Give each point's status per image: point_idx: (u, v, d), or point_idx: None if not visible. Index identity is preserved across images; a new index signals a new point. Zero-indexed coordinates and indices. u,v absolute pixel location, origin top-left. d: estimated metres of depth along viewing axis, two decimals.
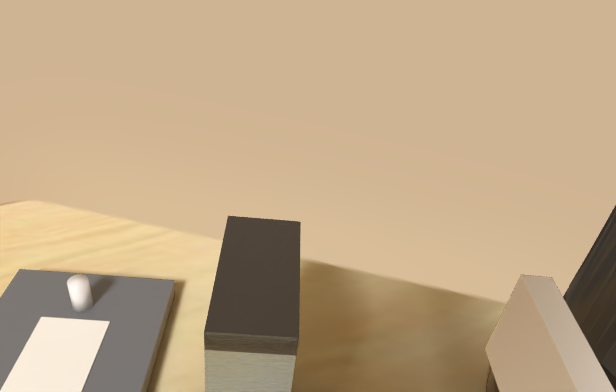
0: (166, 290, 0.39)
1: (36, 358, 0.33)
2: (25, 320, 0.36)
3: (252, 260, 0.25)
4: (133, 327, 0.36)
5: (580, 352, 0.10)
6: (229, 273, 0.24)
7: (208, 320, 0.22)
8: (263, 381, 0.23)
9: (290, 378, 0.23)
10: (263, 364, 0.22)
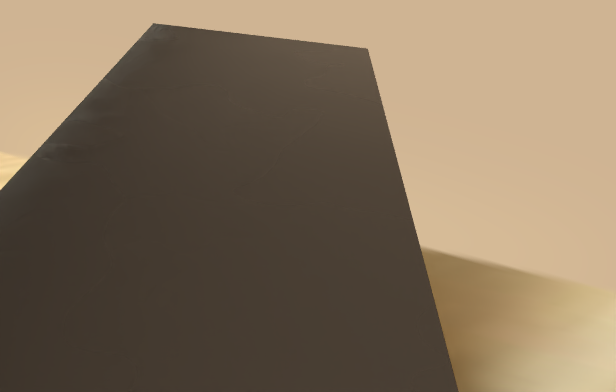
0: None
1: None
2: None
3: (212, 115, 0.06)
4: None
5: None
6: (103, 143, 0.06)
7: None
8: None
9: None
10: None
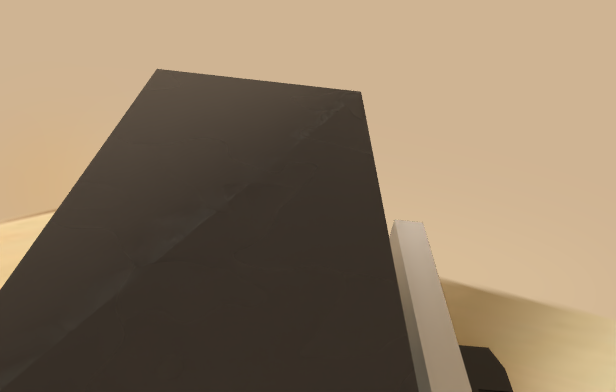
0: None
1: None
2: None
3: (212, 172, 0.07)
4: None
5: (427, 280, 0.11)
6: (113, 206, 0.06)
7: None
8: None
9: None
10: None
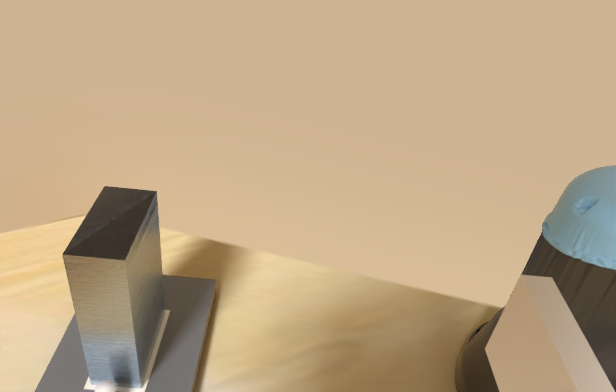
0: (210, 287, 0.51)
1: None
2: None
3: (111, 214, 0.36)
4: (188, 315, 0.47)
5: (580, 352, 0.10)
6: (91, 221, 0.35)
7: (67, 248, 0.33)
8: (109, 293, 0.34)
9: (127, 291, 0.34)
10: (106, 280, 0.34)
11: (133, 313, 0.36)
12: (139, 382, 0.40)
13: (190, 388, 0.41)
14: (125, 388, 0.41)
